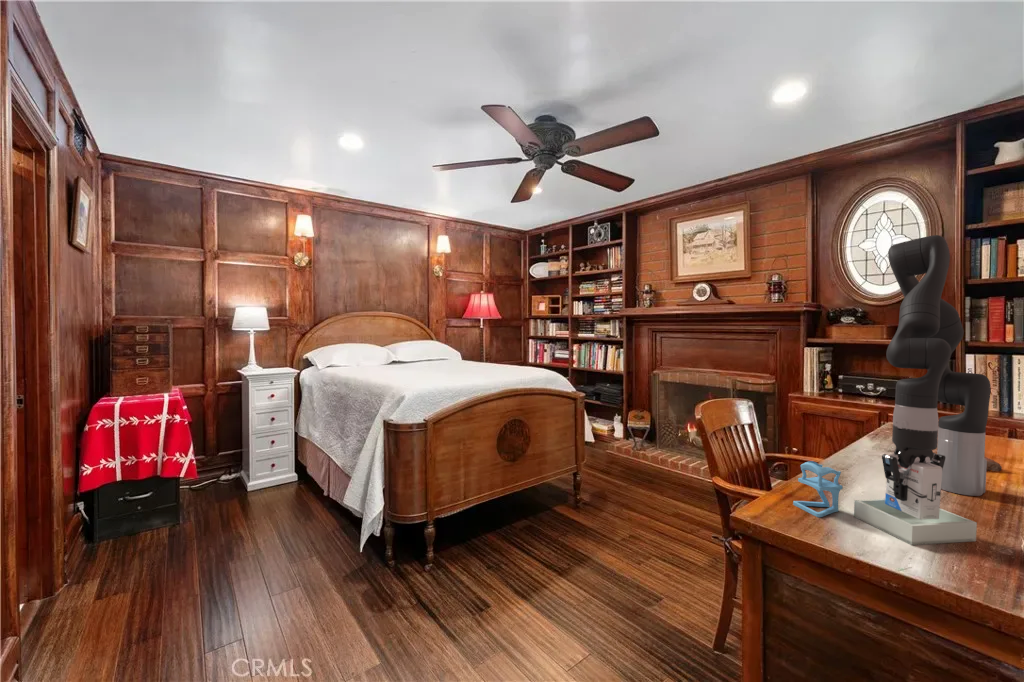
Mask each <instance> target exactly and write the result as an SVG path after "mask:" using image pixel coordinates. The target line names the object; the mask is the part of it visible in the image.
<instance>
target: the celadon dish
mask: <svg viewBox="0 0 1024 682" xmlns="http://www.w3.org/2000/svg"><path fill="white" fill-rule="evenodd" d="M853 504H854V506H853V509H854V510H853V512H854V513H853V517H854V518H855V519H858V520H859V521H862V522H864V523H866V524H868V525H870V526H872V527H874V528H876V529H879V530H880V531H882V532H883V533H886V534H888V535H890V536H893V537H895V538H896V539H898V540H901V541H902V542H904V543H906V544H908V545H910V546H919V545H920V546H921V545H934V544H939V545H940V544H950V543H951V544H952V543H954V544H955V543H967V542H968V543H969V542H971V543H972V542H976V541H977V530H978V529H977V527H978V526H977V525H978V523H977V521H974V520H971V519H968V518H966V517H963V516H961V515H958V514H956V513H953V512H950V511H948V510H946V509H943V508H940V512H939V519H918V518H915V517H913V516H911V515H909V514H907V513H904V512H902V511H900V510H898V509H895V508H893V507H891V506H889V505H886V504H885V498H873V499H872V498H870V499H854V502H853Z"/></svg>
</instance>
